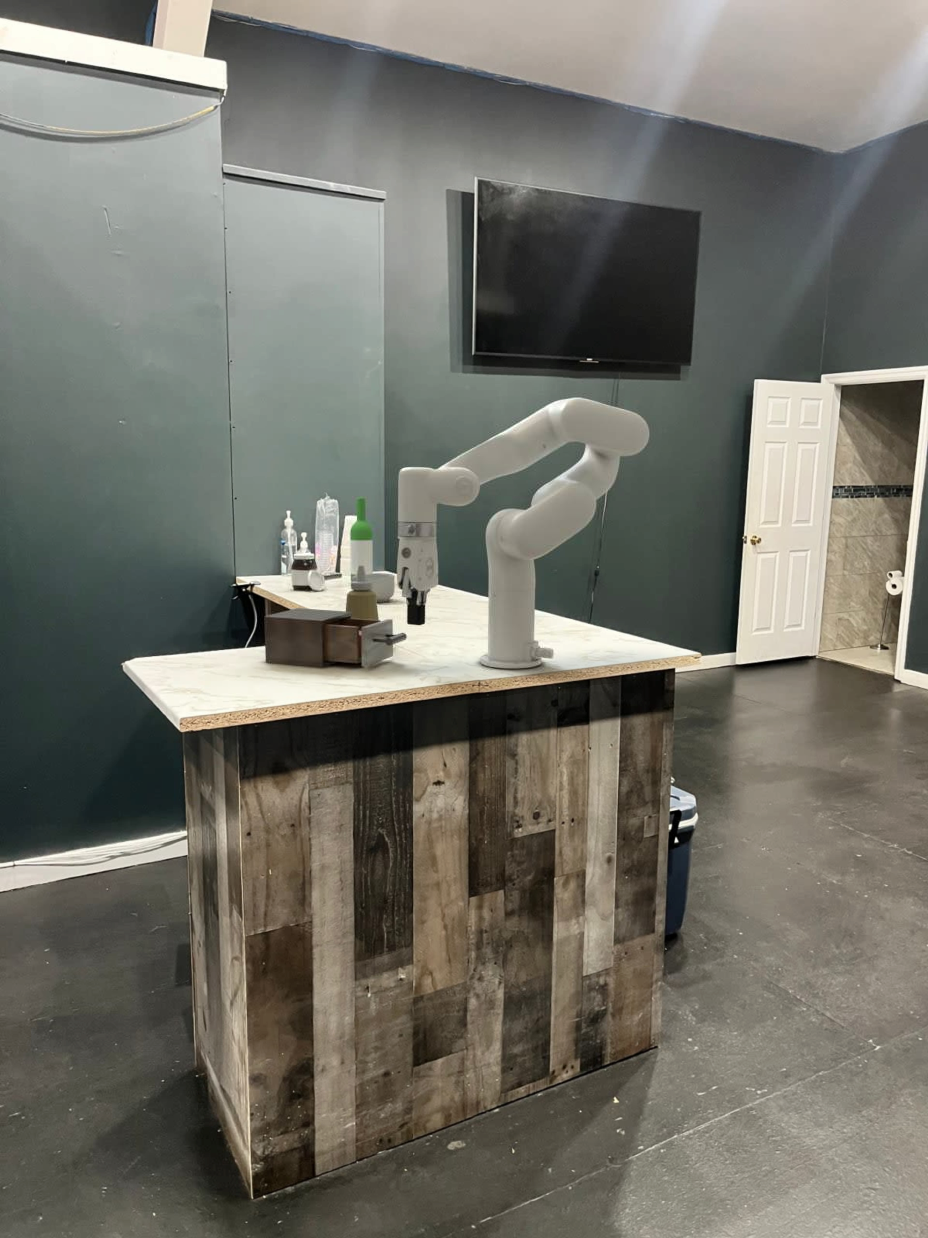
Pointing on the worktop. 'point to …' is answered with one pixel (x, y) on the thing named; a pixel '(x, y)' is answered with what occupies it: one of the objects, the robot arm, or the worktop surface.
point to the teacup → (381, 585)
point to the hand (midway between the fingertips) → (416, 624)
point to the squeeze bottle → (362, 598)
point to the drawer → (345, 640)
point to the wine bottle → (361, 542)
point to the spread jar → (306, 573)
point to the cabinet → (299, 636)
